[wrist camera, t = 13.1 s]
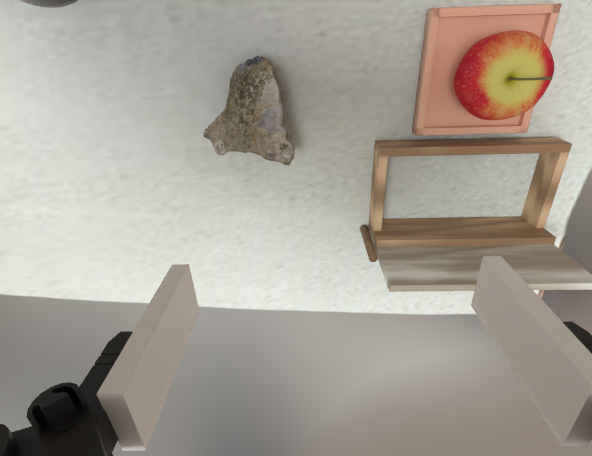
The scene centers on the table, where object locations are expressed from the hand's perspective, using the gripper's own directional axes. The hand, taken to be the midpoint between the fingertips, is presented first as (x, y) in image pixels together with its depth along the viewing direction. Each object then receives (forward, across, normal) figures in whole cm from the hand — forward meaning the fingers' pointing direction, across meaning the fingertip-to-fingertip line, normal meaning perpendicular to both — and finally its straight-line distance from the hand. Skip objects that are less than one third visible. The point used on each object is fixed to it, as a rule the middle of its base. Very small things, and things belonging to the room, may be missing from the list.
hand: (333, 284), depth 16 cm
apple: (+31, +19, +6) cm, 37 cm away
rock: (+29, -2, +2) cm, 29 cm away
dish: (+31, +19, +6) cm, 37 cm away
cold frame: (+31, +19, -8) cm, 37 cm away
